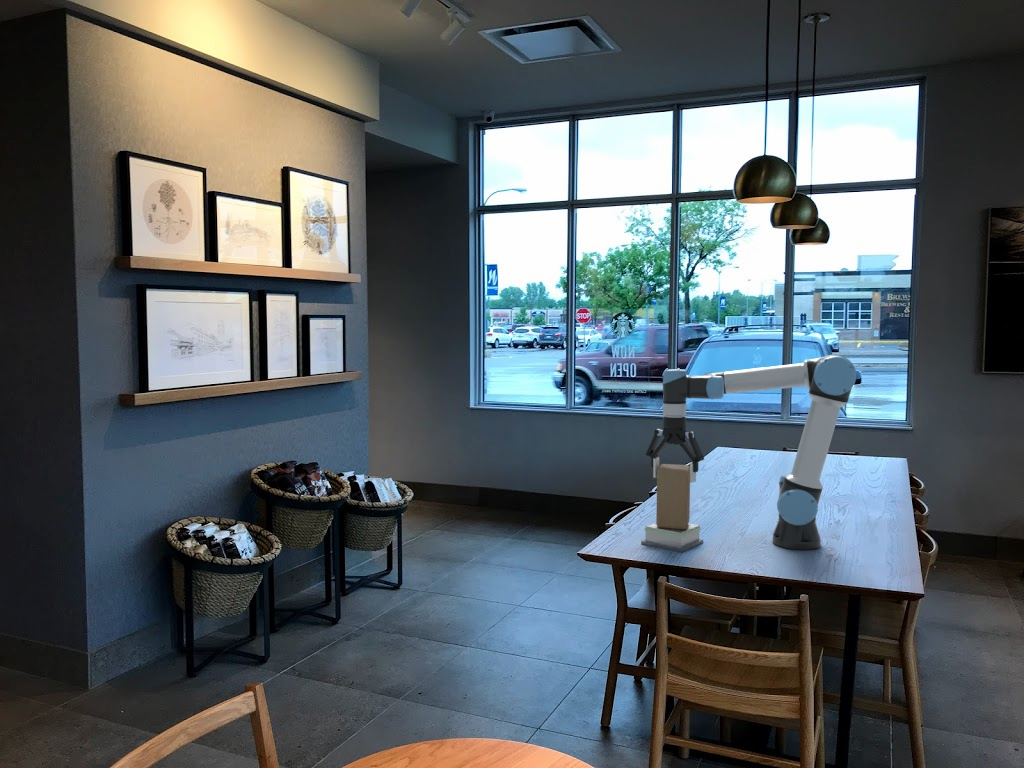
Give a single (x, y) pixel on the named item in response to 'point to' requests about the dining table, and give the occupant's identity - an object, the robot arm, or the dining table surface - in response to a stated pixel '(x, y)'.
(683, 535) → the stand
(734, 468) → the dining table surface
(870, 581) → the dining table surface
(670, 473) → the wooden block
